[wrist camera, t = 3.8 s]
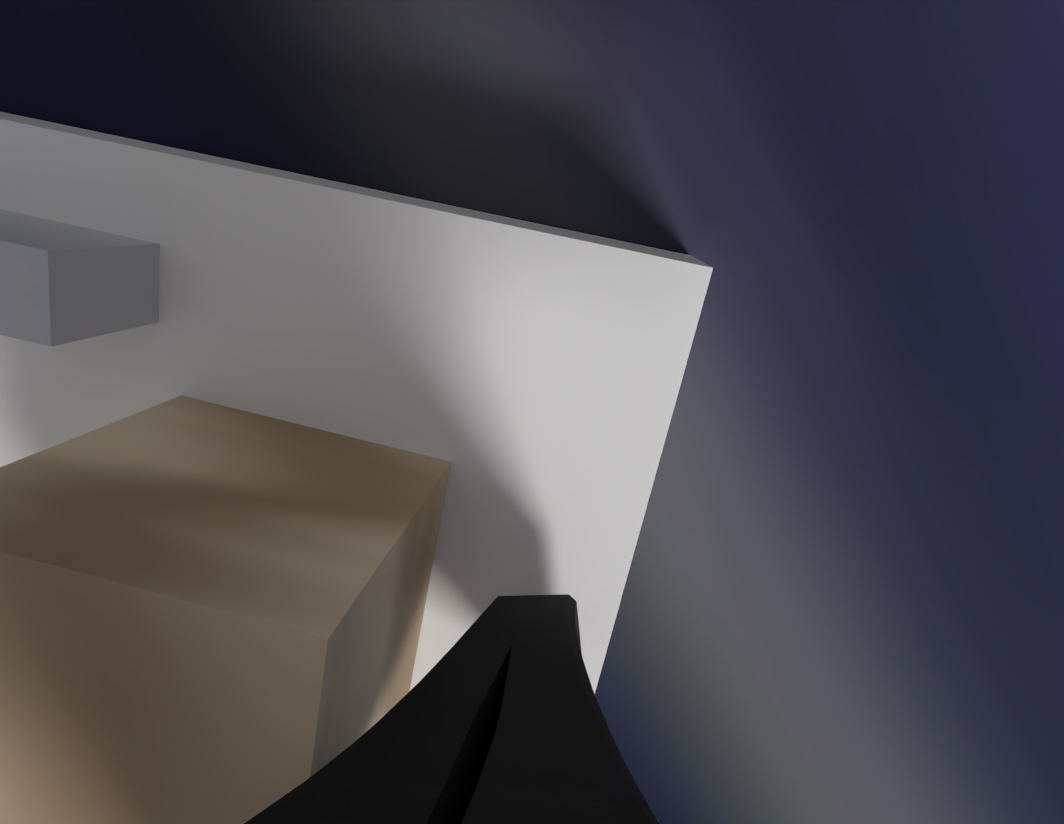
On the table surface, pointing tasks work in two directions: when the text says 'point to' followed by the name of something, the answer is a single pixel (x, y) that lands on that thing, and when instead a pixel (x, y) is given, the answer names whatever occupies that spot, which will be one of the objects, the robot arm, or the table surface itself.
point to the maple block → (202, 611)
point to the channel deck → (355, 345)
